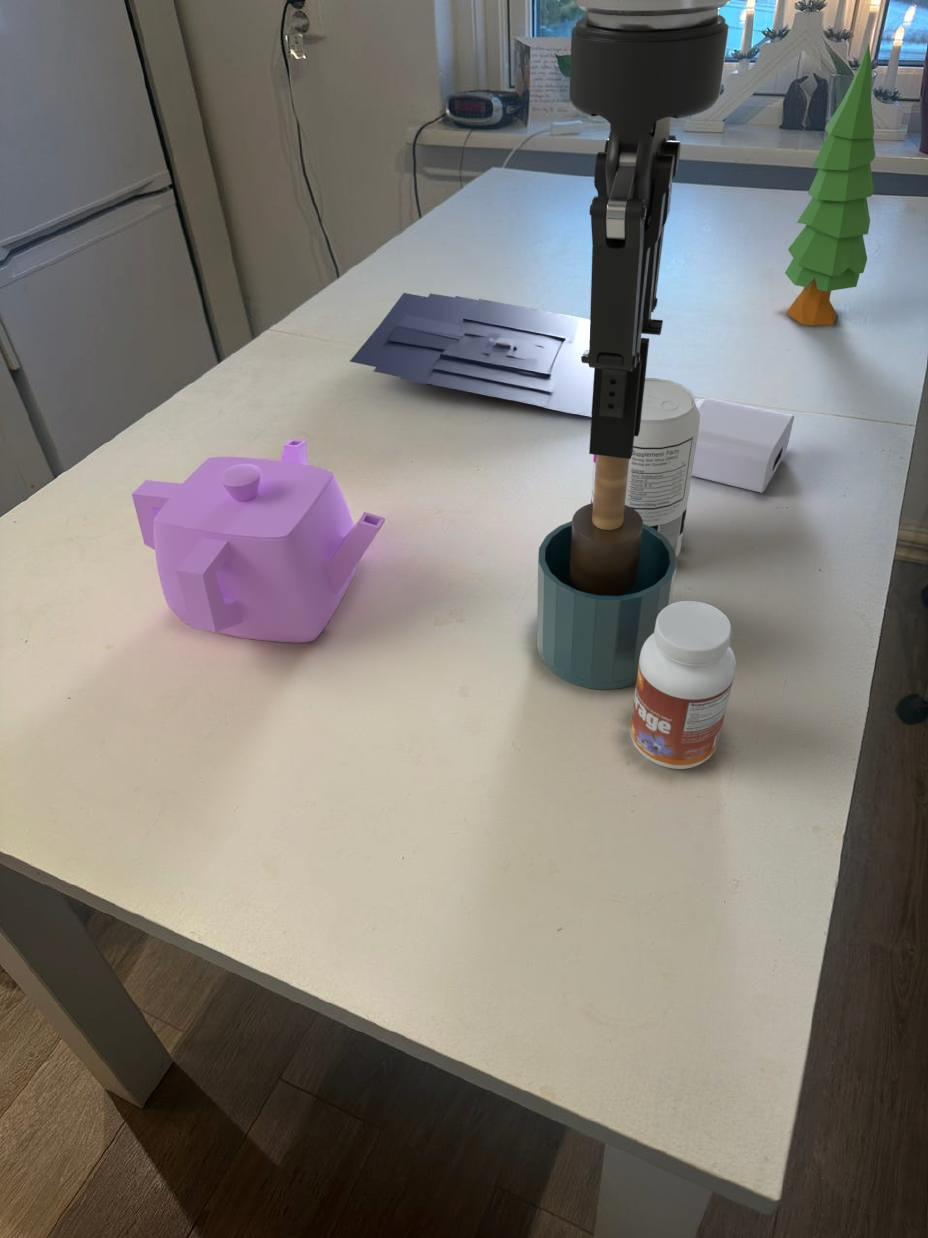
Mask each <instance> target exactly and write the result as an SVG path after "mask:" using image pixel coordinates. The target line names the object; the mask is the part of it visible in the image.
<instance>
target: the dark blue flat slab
mask: <svg viewBox="0 0 928 1238" xmlns="http://www.w3.org/2000/svg"><path fill="white" fill-rule="evenodd" d="M589 343H590V319H588V318H584V317H582V316H576V315H570V314H565V313H559V312H554V311H549V310H543V309H538V308H533V307H532V308H530V307H525V306H522V305H521V306H520V305H515V304H511V303H505V302H499V301H494V300H493V301H492V300H487V299H482V298H479V299H475V298H469V297H464V296H459V295H455V296H448V295H442V294H437V293H429V295H428V296H423V295H417V294H412V293H407V292H403V293H402V294H401V296H400V297H399V298H398V300H397V301H396V303H395V304H394V305H393V306H392V308H391V309H390V310H389V312H388V313H387V314H386V316H385V317H384V319H382V321H381V322H380V324H378V326H377V327H376V328H375V330H374V331H373V332H372V334H371V335H370V336H369V337H368V338H367V339H366V341H365V342H364V343H363V345H361V346H360V348H359V349H358V350H357V351H356V352H355V354H354V355H353V356H352V358H351V359H350V360H349V362H350V363H355V364H360V365H365V366H369V367H374V369H373V372H374V373H378V374H383V375H388V376H393V377H397V378H398V377H399V379H400V380H405V381H409V382H412V383H413V382H414V383H417V384H422V385H427V386H437V387H441V388H442V387H443V388H447V389H453V390H458V391H463V392H467V393H472V394H478V395H483V396H487V397H492V398H498V399H502V400H508V401H512V402H517V403H518V402H519V403H522V404H529V405H534V406H538V407H540V408H544V409H549V410H554V411H558V412H562V413H566V414H571V415H579V416H584V417H590V418H591V416H592V400H593V383H594V368H592V367H589V365H588V363H582V355H583V353H584V351H585V350H586V349H589Z"/></svg>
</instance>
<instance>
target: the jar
mask: <svg viewBox="0 0 928 1238" xmlns="http://www.w3.org/2000/svg"><path fill="white" fill-rule="evenodd" d="M571 536H572V520H571V521H568V522H566V523H564V524H561V525H559V526H557V527H556V528H554V529H553V530H552V531H550V532H549V533H548V534H547V535H546V536H545V537H544V539H543V541H542V542H541V544H540V545H539V546H538V558H537V618H536V619H537V621H536V623H537V624H536V625H537V626H536V627H537V629H536V645H537V651H538V654H539V656H540V659H541V661H542V662H543V663H544V665H545V667H546V668H547V669H549V670H550V671H551V672H552V673H553V674H554V675H556V676H557V677H558V678H560V679H562V680H563V681H564V682H565V681H566V682H568V683H569V684H572V685H574V686H575V685H576V686H578V687H582V688H586V689H593V690H616V689H622V688H627V687H630V686H634V685H636V682H637V674H638V666H639V658H640V653H641V649H642V647H643V645H644V643H645V641H646V640H647V639H648V638H649V637H650V636H651V635H652V634H653V633H654V630H655V625H656V619H657V617H658V615H659V613H660V612H661V611H662V610H663V609H664V608H665V607H667V606H668V605H670V604H672V602H673V595H674V587H675V582H676V575H677V567H678V561H677V557H676V552H675V550H674V548H673V547H672V545H671V544H670V542H669V541H668V539H667V538H666V537H664V536H663V535H662V534H661V533H659V532H658V531H657V530H655V529H654V528H652V527H650V526H647V525H645V524H643V530H642V539H641V547H640V556H639V564H638V573H637V581H636V583H635V585H634V586H633V587H632V588H631V589H630V590H629V591H627V592H626V593H624V594H621V595H618V596H599V595H594V594H590V593H585V592H582V591H580V590H579V589H578V588H576V587H575V586H574V584H573V583H572V581H571V579H570V556H571Z"/></svg>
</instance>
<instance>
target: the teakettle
mask: <svg viewBox="0 0 928 1238" xmlns="http://www.w3.org/2000/svg"><path fill="white" fill-rule="evenodd" d="M131 498H132V501H133V505H134V509H135V513H136V517H137V521H138V525H139V529H140V533H141V536H142V540H143V544H144V545H145V546H147V547H148V548H150V549H152V550H154V553H155V561H156V566H157V567H156V568H157V573H158V577H159V582H160V587H161V590H162V594H163V596H164V599H165V603H166V604H167V606H168V608H170V610H171V611H172V613H173V614H174V615H175V617H177V619H179V620H180V621H181V622H182V623H183V624H185V625H188V626H190V629H195V630H200V631H206V632H211V633H216V634H217V633H218V634H221V635H225V636H230V637H235V638H242V639H249V640H257V641H267V642H278V643H296V644H299V643H300V644H301V643H302V644H303V643H310V642H313V641H315V640H316V639H317V638H319V636H320V635H321V633H322V632H323V630H324V629H325V628H326V626H327V625H328V623H329V621H330V620H331V619H332V617H333V615H334V613H335V612H336V610H337V609H338V607H339V605H340V603H341V602H342V600H343V598H344V596H345V595H346V593H347V591H348V589H349V587H350V585H351V583H352V581H353V579H354V577H355V574H356V572H357V568H358V563H359V562H360V561H361V559H362V557H363V556H364V555H365V553H366V552H367V550H368V548H369V547H370V545H371V544H372V542H373V541H374V540H375V538H376V537H377V535H378V533H379V532H380V530H381V528H382V527H383V525H384V524H385V523H386V517H382V516H379V515H376V514H372V513H369V512H365V511H363V512H362V514H361V516H360V517H359V519H358V521H357V522H356V524H355V523H354V520H353V516H352V514H351V511H350V508H349V505H348V503H347V500H346V498H345V496H344V494H343V492H342V489H341V487H340V484H339V482H338V480H337V477H336V476H335V474H334V473H333V471H330V470H328V469H326V468H322V467H318V466H314V465H313V466H312V465H309V459H308V446H307V440H306V439H295V438H291V439H290V440H288V441H287V442H286V443H284V444H283V450H282V454H281V458H280V460H276V459H268V458H257V457H256V458H255V457H241V456H212V457H208V458H207V459H206V460H205V461H203V463H202V464H200V465H199V466H198V467H197V468H196V469H195V470H194V471H193V472H192V473H191V474H190V475H189V476H188V478H186V480H184V482H183V483H180V482H171V481H161V480H150V479H145V480H144V481H143V482H142V483H141V484H140V485H139V486H138V487H137V488H136V489H135V490H134V491H133V492H132V493H131Z"/></svg>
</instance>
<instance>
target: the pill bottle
mask: <svg viewBox="0 0 928 1238" xmlns="http://www.w3.org/2000/svg"><path fill="white" fill-rule="evenodd" d="M731 638H732V626H731V622H730V620H729V618H728V617H727V615H725V613H723V611H721V610H720V609H718V608H716V607H715V606H713V605H710V604H709V603H705V602H701V601H695V600H680V601H677V602H673V603H671V604H670V605H668V606H667V607H665V608H664V609H663V610H662V611H661V612H660V613H659V615H658V617H657V619H656V625H655V630H654V633H653V634H652V635H651V636H650V637H649V638H648V639H647V640H646V641H645V643H644V645H643V647H642V649H641V653H640V658H639V666H638V674H637V682H636V684H635V689H634V696H633V703H632V704H633V705H632V712H631V719H630V726H629V727H630V728H629V731H630V737H631V738H630V739H631V741H632V743H633V745H634V746H635V748H636V749H637V751H638V752H639V753H640V754H641V755H642V756H643V757H644V758H646V759H647V760H649V761H651V762H652V763H654V764H657V765H658V766H661V767H664V768H668V769H675V770H676V769H677V770H685V769H690V768H694V767H697V766H700V765H701V764H703V763H705V762H706V761H708V760H709V759H710V758H711V757H712V756H713V754H714V753H715V751H716V749H717V747H718V744H719V740H720V736H721V731H722V728H723V723H724V718H725V716H726V712H727V707H728V703H729V699H730V695H731V690H732V686H733V683H734V678H735V673H736V670H737V669H736V668H737V667H736V666H737V665H736V657H735V654H734V652H733V650H732V648H731V646H730V644H731Z"/></svg>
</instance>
